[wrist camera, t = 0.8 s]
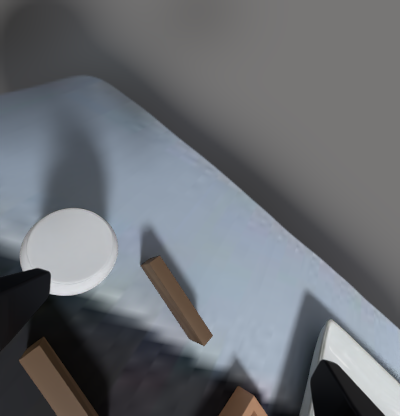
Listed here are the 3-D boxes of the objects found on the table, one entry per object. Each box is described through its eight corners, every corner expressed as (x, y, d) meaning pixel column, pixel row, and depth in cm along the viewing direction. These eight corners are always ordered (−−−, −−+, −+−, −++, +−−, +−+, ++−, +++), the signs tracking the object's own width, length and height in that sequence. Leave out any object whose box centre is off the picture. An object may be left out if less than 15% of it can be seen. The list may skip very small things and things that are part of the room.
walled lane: (93, 445, 17) (97, 473, 15) (26, 348, 17) (18, 360, 14) (197, 330, 23) (212, 335, 21) (150, 258, 23) (159, 255, 21)
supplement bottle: (21, 249, 18) (-18, 221, 10) (87, 219, 21) (98, 179, 13) (55, 305, 18) (43, 324, 10) (116, 267, 21) (145, 258, 13)
